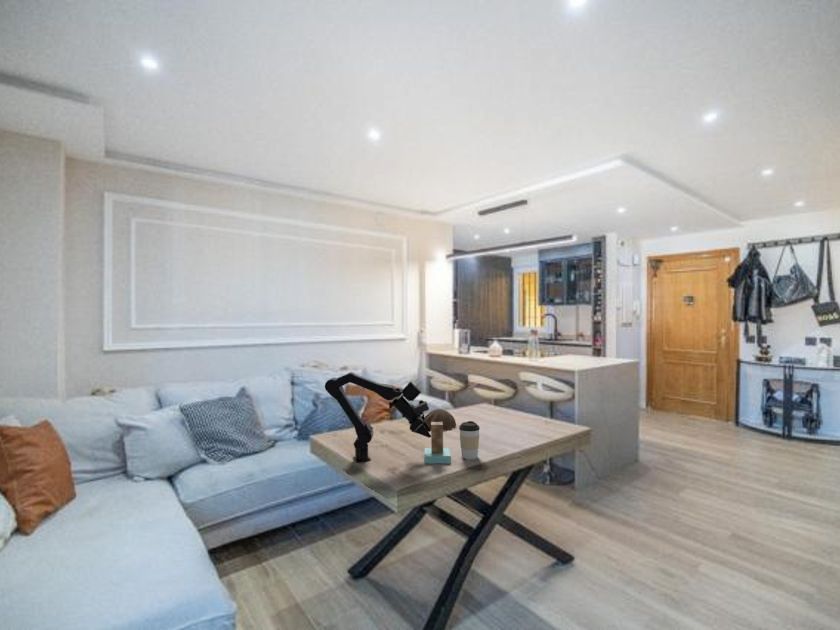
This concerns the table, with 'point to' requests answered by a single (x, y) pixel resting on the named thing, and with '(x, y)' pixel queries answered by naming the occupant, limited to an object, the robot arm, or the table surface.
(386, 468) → the table surface
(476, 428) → the coffee cup
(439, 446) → the block
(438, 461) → the base
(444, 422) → the decorative dome
